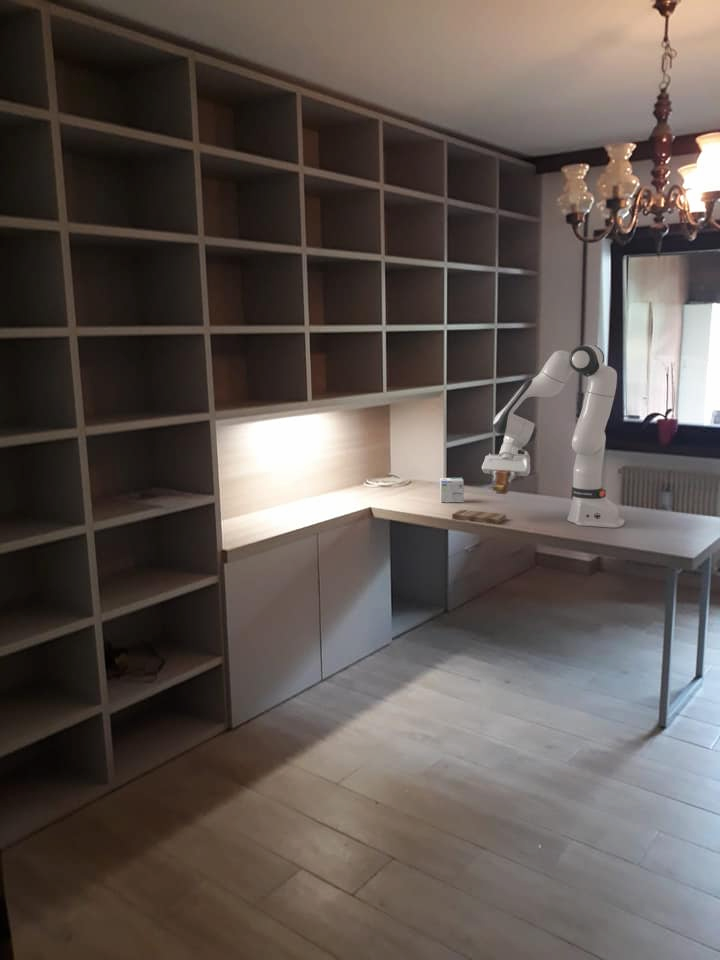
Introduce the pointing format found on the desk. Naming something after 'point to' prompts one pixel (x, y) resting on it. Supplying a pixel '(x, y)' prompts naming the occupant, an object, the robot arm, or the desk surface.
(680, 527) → the desk surface
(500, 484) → the brown l-shaped block
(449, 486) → the light bulb box
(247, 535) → the desk surface
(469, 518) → the plank
